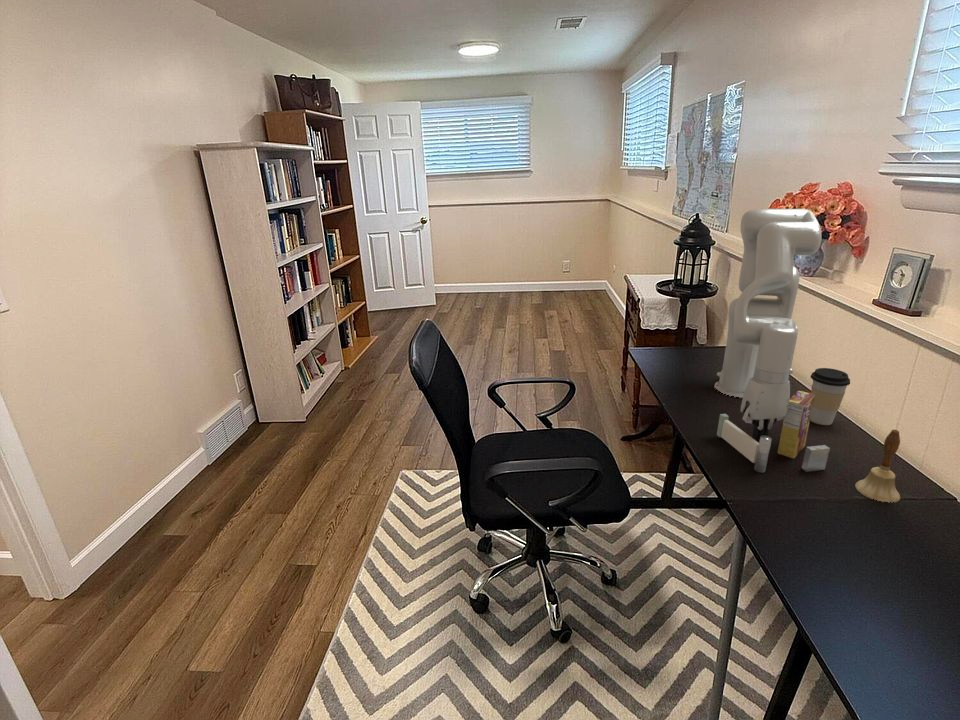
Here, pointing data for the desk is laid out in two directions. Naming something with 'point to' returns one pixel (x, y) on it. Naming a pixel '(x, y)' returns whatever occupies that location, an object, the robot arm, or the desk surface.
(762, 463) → the hinge post
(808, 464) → the grey rectangular block
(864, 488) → the hand bell
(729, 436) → the gate rail
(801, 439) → the candy box
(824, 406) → the coffee cup
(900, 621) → the desk surface
